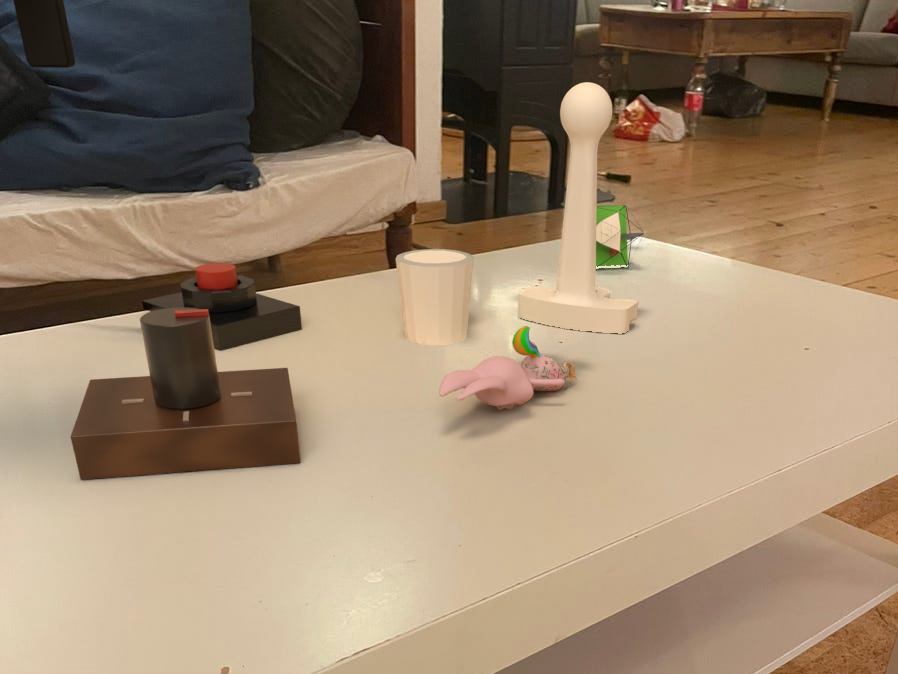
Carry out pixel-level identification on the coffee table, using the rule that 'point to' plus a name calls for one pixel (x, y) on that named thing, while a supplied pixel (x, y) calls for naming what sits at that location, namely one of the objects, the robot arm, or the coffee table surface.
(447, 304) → the shot glass
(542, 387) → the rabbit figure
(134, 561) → the coffee table surface
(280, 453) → the panel
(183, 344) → the dial
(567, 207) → the joystick
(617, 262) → the geometric puzzle
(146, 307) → the button box
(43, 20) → the robot arm
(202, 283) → the button
